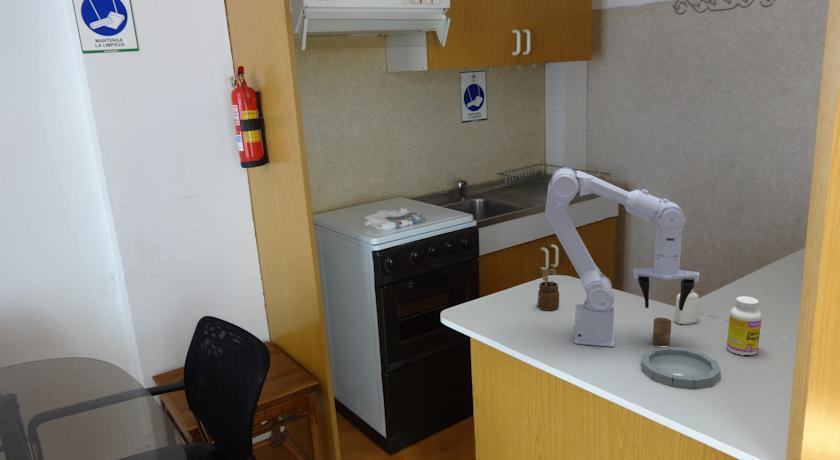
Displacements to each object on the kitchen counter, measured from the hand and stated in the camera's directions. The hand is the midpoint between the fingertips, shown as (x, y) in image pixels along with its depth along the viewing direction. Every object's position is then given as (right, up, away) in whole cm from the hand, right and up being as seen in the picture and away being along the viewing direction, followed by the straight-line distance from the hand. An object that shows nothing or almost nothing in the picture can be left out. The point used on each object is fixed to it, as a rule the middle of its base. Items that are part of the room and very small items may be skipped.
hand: (663, 307), depth 154 cm
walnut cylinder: (0, -9, +2) cm, 9 cm away
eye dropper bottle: (+11, -6, +14) cm, 19 cm away
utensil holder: (-22, -3, +27) cm, 35 cm away
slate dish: (-1, -13, -11) cm, 17 cm away
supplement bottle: (+18, -10, -3) cm, 20 cm away
